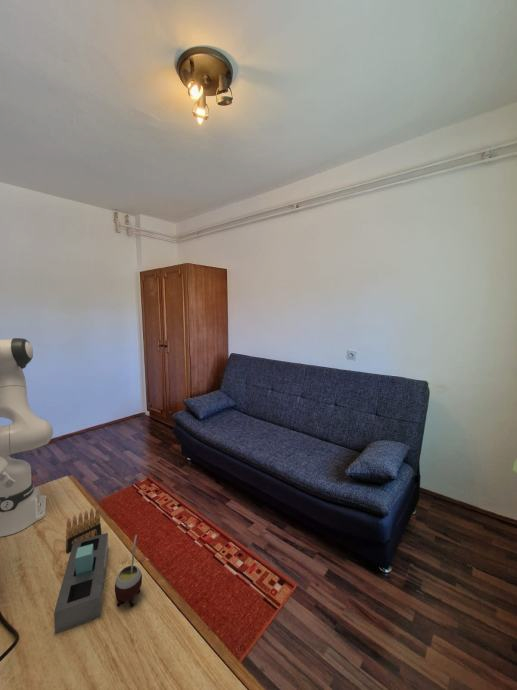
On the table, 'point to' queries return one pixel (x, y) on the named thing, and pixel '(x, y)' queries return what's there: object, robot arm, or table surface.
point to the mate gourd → (128, 582)
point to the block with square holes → (82, 587)
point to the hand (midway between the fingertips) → (5, 494)
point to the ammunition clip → (82, 528)
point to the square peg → (84, 560)
